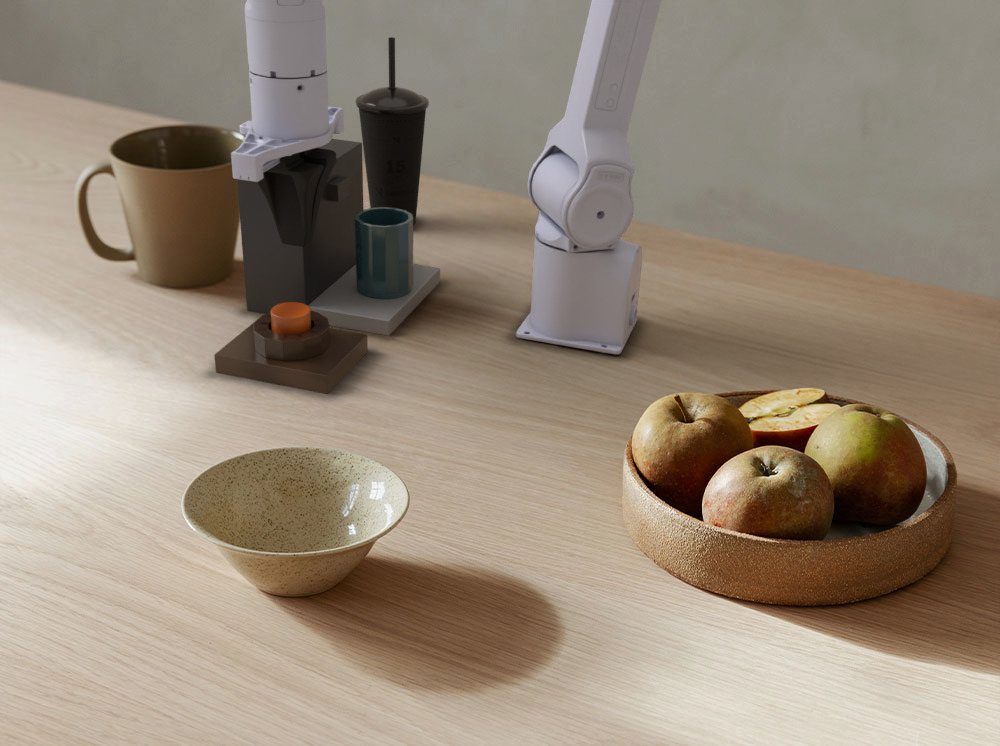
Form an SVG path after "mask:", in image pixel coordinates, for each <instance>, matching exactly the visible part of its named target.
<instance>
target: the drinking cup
mask: <svg viewBox="0 0 1000 746" xmlns="http://www.w3.org/2000/svg"><path fill="white" fill-rule="evenodd" d="M387 45H388V86H384V87H383V86H382V87H378V88H375V89H372V90H370V91H368V92H366V93H364V94H363V93H362V94H361V95H359V96H357V97H356V98H355V106H356V107H357V108H358V113H359V122H360V131H361V139H362V150H363V156H364V164H365V166H364V167H365V174H366V182H367V190H368V191H367V192H368V198H369V208H377V207H391V208H398V209H402V210H406V211H407V212H409V213H411V214H412V216H413V227H414V226H415V225H416V222H417V214H418V213H417V212H418V202H419V201H418V200H419V192H420V191H419V189H420V180H421V179H420V177H421V169H422V168H421V167H422V157H423V145H424V136H425V135H424V134H425V124H426V115H427V114H426V112H427V109H428V107H429V104H430V100H429V98H427V97H426V96H424V95H422V94H420V93H417V92H416V91H413V90H411V89H408V88H405V87H400V86H396V38H395V37H393V36H389V37H388V43H387Z"/></svg>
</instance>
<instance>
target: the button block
mask: <svg viewBox="0 0 1000 746" xmlns="http://www.w3.org/2000/svg"><path fill="white" fill-rule="evenodd" d="M368 348H369V347H368V334H366V333H360V332H355V331H349V330H343V329H337V328H333V327H330V325H329V321H328V318H326V317H325V316H323V315H321V314H319V313H318V312H314V311H311V330H310V331H308V332H305V333H301V334H297V335H283V334H277V333H274V332H273V331H272V325H271V313H268V314H262V315H261V316H260V317H258V318H257V319H256V320H255V321H254V322H252V323H251V324H250V325H248V327H246V328H245V329H244V330H243V331H241V332H240V333H239V334H238V335H236V336H235V337H234V338H232V340H230V341H229V342H228V343H226V344H225V345H224V346H223V347H222V348H221V349H219V350H218V351H217V352H216V353H214V365H215V373H216V374H221V375H227V376H231V377H238V378H243V379H248V380H252V381H258V382H262V383H266V384H267V383H268V384H273V385H279V386H282V387H289V388H293V389H298V390H304V391H309V392H315V393H319V394H323V395H324V394H325V395H328V394H329V393H330V392H331V391H332V390H333V389H334V388H335V387H336V386H337V385H338V384H339V383H340V382H341V380H342V379H343V378H344V377H346V375H348V373H349V372H350V371H351V370H352V369H353V368H354V367H355V366H356V365H357V364H358V363H359V362H360V361H361V360H362V358H364V356H366V354H367V353H368V352H369V351H368Z"/></svg>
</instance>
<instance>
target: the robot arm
mask: <svg viewBox="0 0 1000 746" xmlns="http://www.w3.org/2000/svg"><path fill="white" fill-rule="evenodd" d="M323 1H324V0H246V2H245V4H244V19H245V36H246V51H247V52H246V53H247V64H248V65H247V68H248V81H249V96H250V97H249V98H250V110H251V119H250V120H247V121H245V122H243V123H241V124H240V125H239V133H240V135H241V136H244V139H243V140H242V142H241V143H240V145H239V147H238V148H236V149H234V150H233V151H232V152H230V158H231V171H232V172H231V173H232V178H233V179H234V180H237V179H241V180H247V181H254V182H257V183H258V185H259V186H260V188H261V190H262V192H263V194H264V196H265V198H266V200H267V202H268V204H269V207H270V210H271V212H272V215H273V218H274V221H275V224H276V228H277V231H278V234H279V237H280V240H281V242H282V244H287V245H293V246H300V247H305V246H306V245H308V244H309V243H310V242H311V241H312V238H313V234H314V229H315V224H316V219H317V214H318V209H319V205H320V200H321V197H322V193H323V190H324V187H325V184H326V182H327V179H328V177H329V175H330V173H331V171H332V169H333V167H334V165H335V163H336V152H335V151H333V150H328V149H321V148H318V147H321V146H323V145H326V144H327V143H329V142H330V141H331V139H333V136H334V135H339V134H341V133H344V131H345V124H344V122H345V121H344V108H343V107H338V106H329V90H328V89H329V88H328V85H329V83H328V65H327V64H328V63H327V61H328V59H327V31H326V30H327V29H326V8H325V7H326V6H325V5H324V3H323ZM661 5H662V0H591V2H590V7H589V11H588V15H587V18H586V19H587V20H586V22H585V23H586V24H585V26H584V27H585V28H584V32H583V37H582V41H581V45H580V49H579V53H578V58H577V61H576V66H575V71H574V75H573V78H572V82H571V83H572V84H571V87H570V92H569V96H568V100H567V104H566V109H565V112H564V116H563V117H562V119H561V120H560V121H558V122H557V123H556V124H555V125H554V126H553V127H552V128H551V129H550V130H549V132H548V134H547V138H546V142H545V145H544V148H543V151H542V152H541V154H540V155H539V157H537V159H536V160H535V161H534V162H533V165H532V166H531V168H530V170H529V173H528V177H527V183H526V184H527V185H526V186H527V187H526V188H527V194H528V197H529V199H530V201H531V203H532V204H533V205H534V206H535V208H537V210H538V217H537V220H536V221H537V222H536V224H535V227H534V241H533V243H534V244H533V245H534V246H533V261H532V262H533V264H532V281H531V297H530V298H531V299H530V311H529V313H528V315H526V317H525V319H524V320H523V322H521V324H520V326H518V328H517V330H516V332H515V336H516V338H518V339H523V340H528V341H535V342H540V343H545V344H546V343H547V344H552V345H558V346H564V347H570V348H576V349H580V350H581V349H582V350H587V351H593V352H599V353H604V354H611V355H620V354H622V352H623V350H624V348H625V346H626V344H627V342H628V340H629V338H630V335H631V333H632V332H633V330H634V328H635V326H636V323H637V321H638V303H639V297H640V296H639V294H640V285H641V275H642V267H643V266H642V265H643V247H642V245H641V244H638V243H634V242H631V241H627V240H626V239H623V238H622V237H623V235H624V234H625V233H626V232H627V230H628V229H629V227H630V225H631V222H632V220H633V216H634V211H635V205H634V198H633V193H632V182H633V177H634V173H635V168H636V167H635V161H634V158H633V155H632V151H631V147H630V143H629V139H628V129H629V126H630V122H631V119H632V114H633V110H634V106H635V103H636V99H637V95H638V91H639V87H640V85H641V84H640V83H641V81H642V76H643V72H644V69H645V65H646V60H647V57H648V53H649V49H650V46H651V42H652V38H653V34H654V31H655V26H656V23H657V18H658V16H659V11H660V7H661Z"/></svg>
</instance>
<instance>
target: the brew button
mask: <svg viewBox="0 0 1000 746" xmlns="http://www.w3.org/2000/svg"><path fill="white" fill-rule="evenodd" d="M271 325H272V331H273V332H274V333H277V334H283V335H297V334H301V333H305V332H308V331H310V330H311V311H310V308H309V306H307V305H305V304H303V303H298V302H286V303H281V304H278V305H276V306H274V307H273V308H272V309H271Z"/></svg>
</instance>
